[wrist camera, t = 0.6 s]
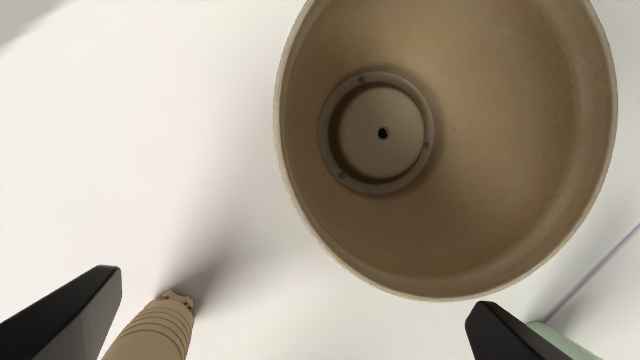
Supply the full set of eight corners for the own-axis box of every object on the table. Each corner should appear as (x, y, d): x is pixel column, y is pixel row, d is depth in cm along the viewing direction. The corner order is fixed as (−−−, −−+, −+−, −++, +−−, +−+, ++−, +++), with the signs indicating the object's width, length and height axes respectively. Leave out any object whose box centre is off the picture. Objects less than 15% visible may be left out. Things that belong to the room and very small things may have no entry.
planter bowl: (430, -8, 24) (570, -136, 13) (491, 186, 26) (649, 212, 16) (229, 68, 21) (199, -10, 11) (318, 269, 24) (364, 366, 14)
